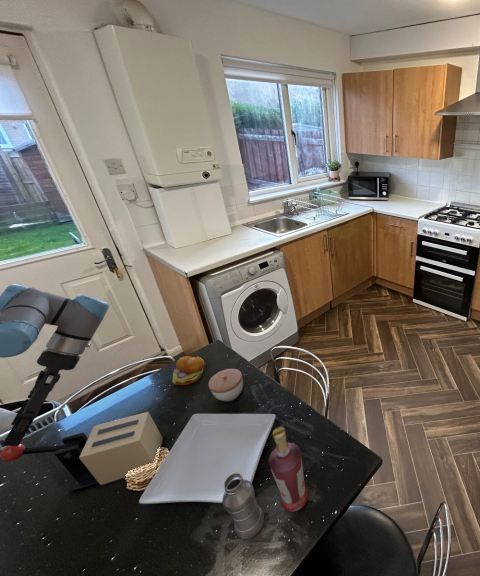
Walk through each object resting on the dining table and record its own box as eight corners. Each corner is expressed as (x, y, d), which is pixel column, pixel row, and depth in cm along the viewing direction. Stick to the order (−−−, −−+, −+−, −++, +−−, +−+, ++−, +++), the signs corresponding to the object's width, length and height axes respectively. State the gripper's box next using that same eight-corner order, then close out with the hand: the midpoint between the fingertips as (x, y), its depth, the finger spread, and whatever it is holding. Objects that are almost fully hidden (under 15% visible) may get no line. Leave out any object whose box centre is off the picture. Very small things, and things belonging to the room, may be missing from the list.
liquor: (313, 505, 81) (299, 437, 67) (285, 521, 78) (265, 453, 64) (304, 480, 87) (290, 413, 73) (278, 494, 83) (258, 426, 70)
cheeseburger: (169, 377, 120) (168, 355, 117) (200, 369, 127) (200, 348, 124) (175, 392, 113) (174, 369, 110) (207, 383, 121) (207, 361, 117)
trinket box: (211, 409, 107) (203, 390, 103) (217, 386, 116) (210, 368, 112) (244, 403, 110) (238, 384, 105) (247, 381, 119) (242, 362, 114)
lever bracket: (72, 493, 83) (45, 462, 77) (86, 462, 91) (62, 432, 84) (100, 484, 85) (76, 454, 79) (111, 455, 93) (90, 425, 86)
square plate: (247, 510, 80) (244, 502, 78) (141, 510, 80) (135, 502, 78) (278, 420, 104) (276, 412, 102) (196, 420, 103) (192, 412, 101)
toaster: (100, 486, 85) (77, 457, 79) (112, 453, 93) (93, 425, 87) (156, 468, 89) (139, 440, 83) (163, 438, 98) (148, 410, 91)
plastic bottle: (271, 521, 78) (255, 475, 68) (248, 549, 73) (228, 504, 63) (254, 506, 81) (237, 460, 71) (231, 532, 76) (209, 486, 66)
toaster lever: (-3, 466, 75) (-5, 454, 74) (7, 451, 78) (5, 440, 77) (76, 458, 82) (76, 447, 80) (82, 445, 85) (82, 434, 84)
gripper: (82, 365, 76) (30, 456, 71) (81, 347, 94) (39, 419, 88) (40, 357, 71) (-20, 454, 66) (47, 340, 89) (1, 416, 83)
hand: (14, 434), depth 77 cm, fingers open, 13 cm apart
